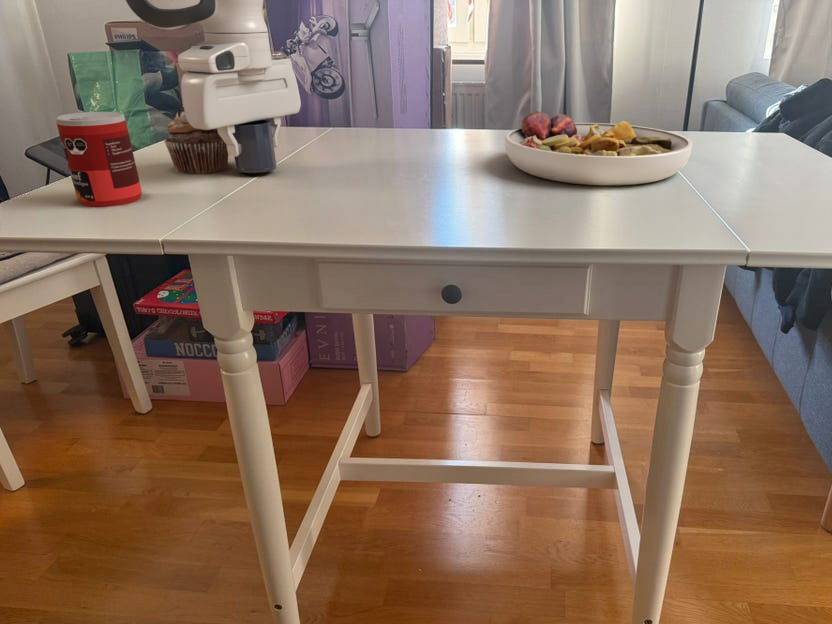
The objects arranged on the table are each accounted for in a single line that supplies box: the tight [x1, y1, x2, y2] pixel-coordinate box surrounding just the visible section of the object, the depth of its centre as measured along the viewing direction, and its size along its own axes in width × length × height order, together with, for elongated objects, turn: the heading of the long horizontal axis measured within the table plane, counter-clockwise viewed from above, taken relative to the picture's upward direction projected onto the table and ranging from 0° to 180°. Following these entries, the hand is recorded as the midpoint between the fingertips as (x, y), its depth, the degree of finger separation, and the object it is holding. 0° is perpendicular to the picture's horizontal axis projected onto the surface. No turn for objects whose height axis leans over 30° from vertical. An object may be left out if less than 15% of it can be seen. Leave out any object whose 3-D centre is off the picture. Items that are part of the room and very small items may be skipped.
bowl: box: [504, 110, 693, 187], centre depth 110 cm, size 30×30×8 cm
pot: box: [232, 119, 278, 174], centre depth 104 cm, size 6×6×7 cm
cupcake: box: [163, 103, 229, 175], centre depth 107 cm, size 10×10×10 cm
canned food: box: [55, 111, 143, 208], centre depth 89 cm, size 8×8×11 cm
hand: (253, 151), depth 105 cm, fingers closed on pot, 6 cm apart
